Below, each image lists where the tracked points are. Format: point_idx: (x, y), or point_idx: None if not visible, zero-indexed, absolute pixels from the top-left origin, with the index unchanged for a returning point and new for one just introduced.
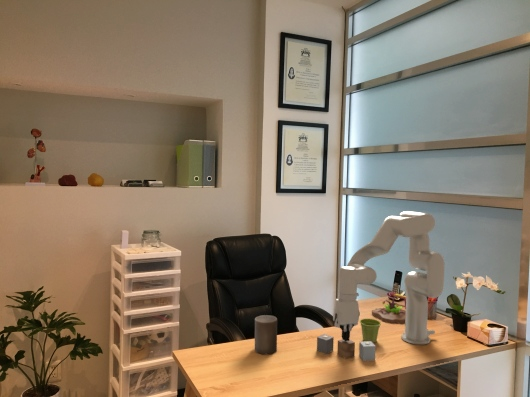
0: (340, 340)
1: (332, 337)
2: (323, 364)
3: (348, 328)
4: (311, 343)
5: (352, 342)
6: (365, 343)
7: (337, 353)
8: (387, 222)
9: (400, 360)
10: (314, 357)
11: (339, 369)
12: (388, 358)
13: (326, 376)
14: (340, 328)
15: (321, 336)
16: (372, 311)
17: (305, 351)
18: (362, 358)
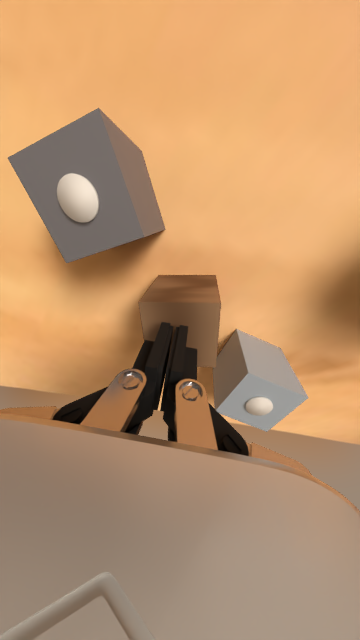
0: (155, 310)
1: (132, 238)
2: (59, 317)
3: (172, 428)
4: (88, 11)
5: (202, 362)
6: (249, 403)
7: (158, 276)
8: None
9: (323, 415)
10: (42, 249)
11: (98, 364)
12: (307, 392)
13: (43, 372)
14: (102, 390)
15: (50, 166)
16: None
17: (11, 154)
18: (216, 360)
